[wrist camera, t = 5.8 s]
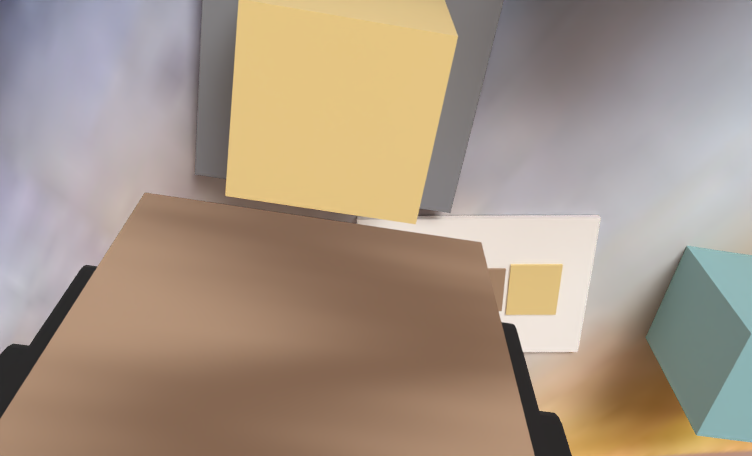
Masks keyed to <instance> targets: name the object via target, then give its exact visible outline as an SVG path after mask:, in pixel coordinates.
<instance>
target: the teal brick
mask: <svg viewBox="0 0 752 456" xmlns="http://www.w3.org/2000/svg"><path fill="white" fill-rule="evenodd" d="M646 339H647V341H648V343H649V345H650V347H651V349H652V351H653V353H654V355H655V357H656V359H657V361H658V362H659V364H660V366H661V368H662V370H663V372H664V374H665V376H666V378H667V380H668V382H669V384H670V386H671V388H672V389H673V391H674V393H675V395H676V397H677V399H678V401H679V403H680V405H681V407H682V409H683V411H684V413H685V414H686V416H687V418H688V420H689V422H690V424H691V426H692V428H693V430H694V432H695V434H696V435H698V436H706V437H714V438H722V439H730V440H737V441H745V442H752V255H745V254H738V253H732V252H725V251H718V250H711V249H705V248H698V247H691V246H687V247H686V249H685V251H684V254H683V256H682V258H681V260H680V262H679V265H678V267H677V269H676V271H675V274H674V276H673V278H672V280H671V282H670V285H669V287H668V289H667V291H666V294H665V296H664V298H663V300H662V302H661V305H660V307H659V309H658V311H657V313H656V316H655V318H654V320H653V322H652V325H651V327H650V329H649V331H648V333H647V336H646Z"/></svg>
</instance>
